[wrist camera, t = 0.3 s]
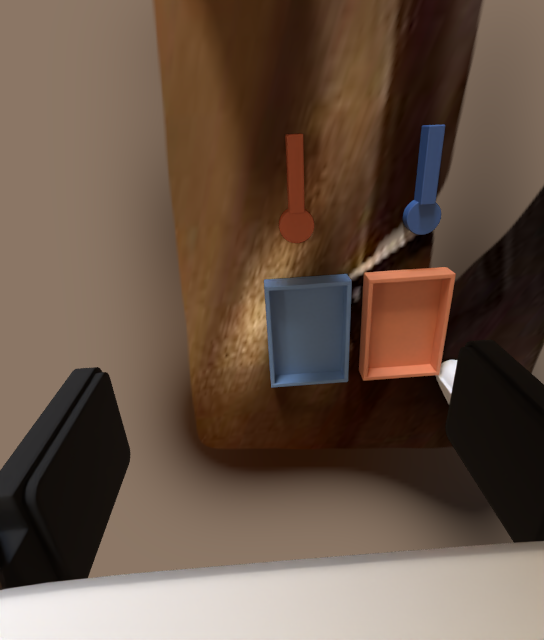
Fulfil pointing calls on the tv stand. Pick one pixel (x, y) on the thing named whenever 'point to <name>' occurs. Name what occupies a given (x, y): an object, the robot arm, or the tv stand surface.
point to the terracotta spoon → (295, 194)
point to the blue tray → (308, 329)
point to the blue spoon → (426, 183)
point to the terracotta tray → (404, 322)
